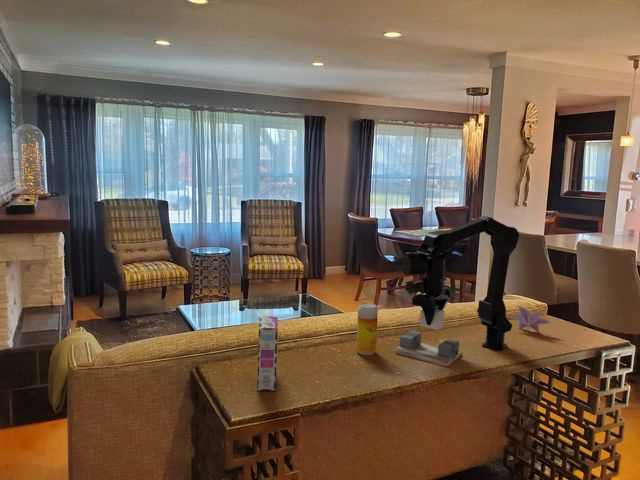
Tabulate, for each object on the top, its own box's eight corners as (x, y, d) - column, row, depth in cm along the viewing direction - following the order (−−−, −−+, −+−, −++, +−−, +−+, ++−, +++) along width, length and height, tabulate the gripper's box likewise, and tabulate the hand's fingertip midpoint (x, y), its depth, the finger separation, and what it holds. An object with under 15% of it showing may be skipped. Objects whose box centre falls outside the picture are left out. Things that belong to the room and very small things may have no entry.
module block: (425, 322, 160) (426, 306, 159) (443, 326, 157) (444, 309, 156) (419, 326, 156) (420, 309, 156) (437, 330, 153) (438, 313, 152)
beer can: (374, 356, 153) (377, 308, 151) (355, 354, 155) (356, 307, 153) (376, 350, 159) (378, 303, 157) (357, 348, 161) (359, 302, 159)
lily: (553, 340, 177) (554, 313, 180) (534, 332, 171) (535, 304, 174) (522, 341, 186) (523, 316, 190) (503, 333, 180) (504, 307, 184)
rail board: (412, 343, 166) (413, 328, 166) (461, 355, 157) (462, 339, 156) (395, 353, 157) (396, 338, 156) (446, 366, 147) (447, 350, 147)
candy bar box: (277, 391, 128) (278, 328, 125) (257, 391, 127) (257, 328, 125) (277, 373, 139) (277, 315, 136) (258, 374, 138) (259, 315, 136)
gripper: (422, 266, 166) (420, 312, 168) (396, 274, 151) (394, 325, 153) (455, 270, 160) (452, 318, 162) (432, 280, 145) (429, 332, 147)
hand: (431, 323), depth 156 cm, fingers closed on module block, 4 cm apart
